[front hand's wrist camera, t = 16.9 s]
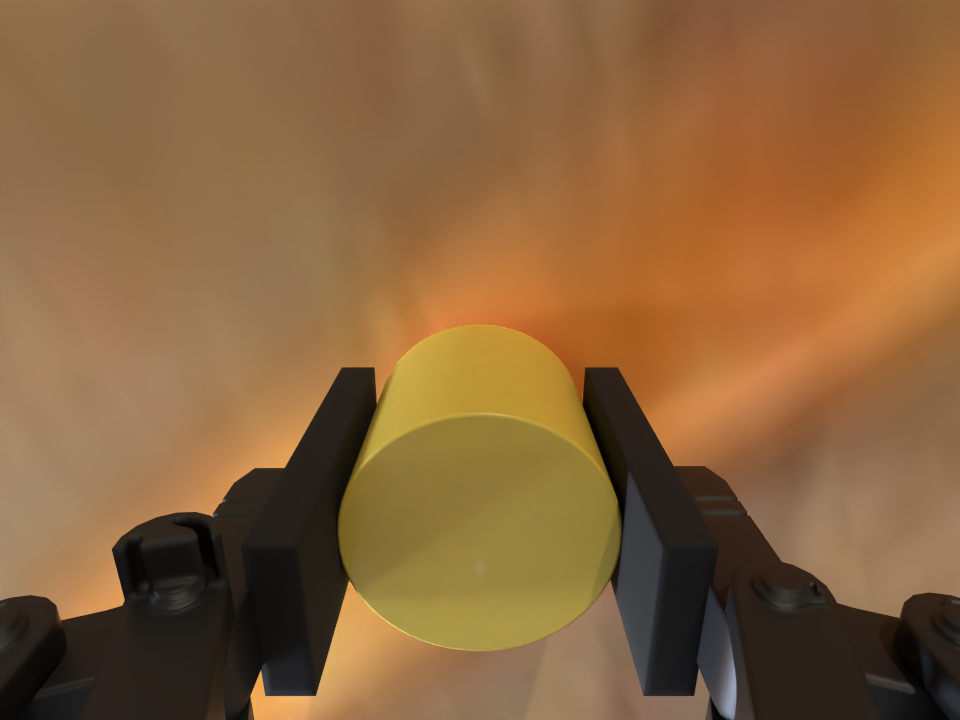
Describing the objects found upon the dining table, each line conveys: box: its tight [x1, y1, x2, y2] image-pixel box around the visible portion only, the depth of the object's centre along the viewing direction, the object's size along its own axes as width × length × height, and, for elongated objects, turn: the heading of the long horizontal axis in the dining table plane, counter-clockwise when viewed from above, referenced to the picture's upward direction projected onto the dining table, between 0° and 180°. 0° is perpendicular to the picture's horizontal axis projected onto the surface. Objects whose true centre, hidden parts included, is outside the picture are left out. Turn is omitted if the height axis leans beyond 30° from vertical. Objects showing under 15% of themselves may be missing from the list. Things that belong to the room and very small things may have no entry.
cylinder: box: [337, 324, 622, 651], centre depth 13 cm, size 5×5×5 cm
